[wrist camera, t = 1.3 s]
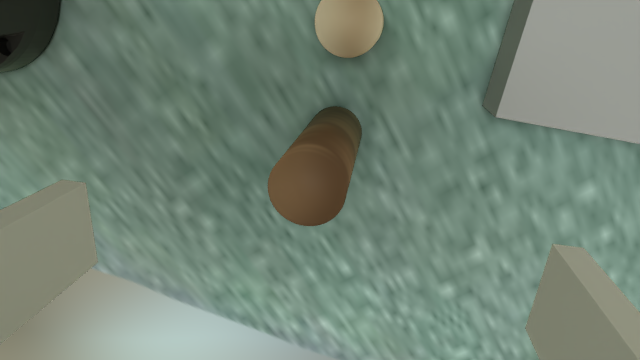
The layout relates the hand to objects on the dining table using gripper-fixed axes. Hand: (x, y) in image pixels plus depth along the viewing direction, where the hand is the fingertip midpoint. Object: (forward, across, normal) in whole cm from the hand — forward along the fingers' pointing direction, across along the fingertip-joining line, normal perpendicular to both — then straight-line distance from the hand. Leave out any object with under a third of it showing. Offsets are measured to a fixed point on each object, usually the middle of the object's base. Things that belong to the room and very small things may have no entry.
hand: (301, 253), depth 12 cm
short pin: (+21, -1, +6) cm, 22 cm away
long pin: (+21, -1, -2) cm, 21 cm away
